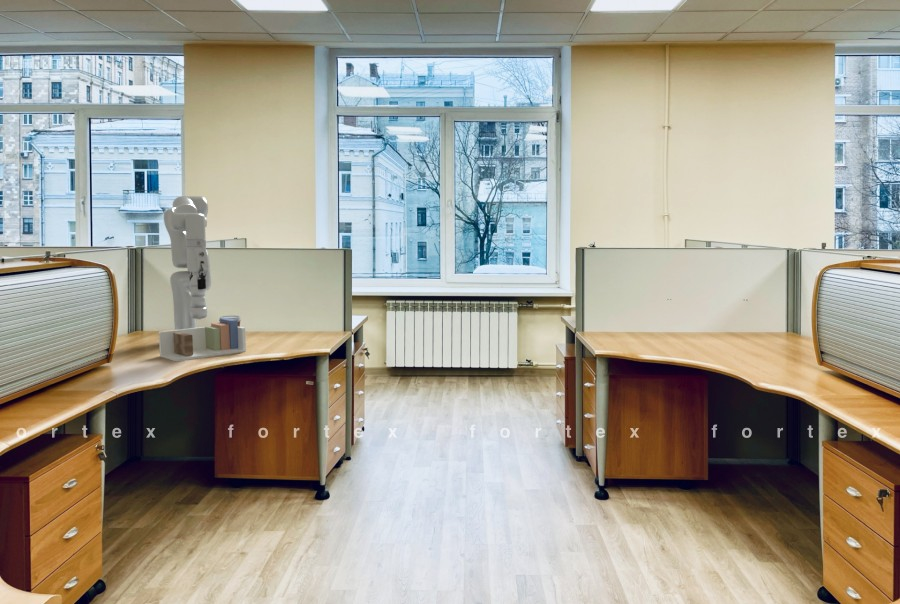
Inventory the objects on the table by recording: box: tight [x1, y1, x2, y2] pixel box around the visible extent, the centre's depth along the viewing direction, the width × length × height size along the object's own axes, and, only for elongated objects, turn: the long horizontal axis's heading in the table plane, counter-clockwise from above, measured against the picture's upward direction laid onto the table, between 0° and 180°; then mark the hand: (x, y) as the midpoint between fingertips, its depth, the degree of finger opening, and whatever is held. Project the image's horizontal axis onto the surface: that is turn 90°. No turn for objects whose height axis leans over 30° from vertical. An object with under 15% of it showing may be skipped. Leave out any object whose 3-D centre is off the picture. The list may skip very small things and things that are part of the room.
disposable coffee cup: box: [218, 315, 242, 327], centre depth 317 cm, size 10×10×12 cm
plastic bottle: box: [189, 272, 208, 320], centre depth 288 cm, size 6×7×20 cm
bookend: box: [173, 332, 193, 356], centre depth 286 cm, size 11×3×8 cm, turn 44°
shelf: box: [158, 318, 247, 362], centre depth 292 cm, size 15×30×13 cm, turn 134°
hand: (197, 288), depth 288 cm, fingers closed on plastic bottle, 6 cm apart
